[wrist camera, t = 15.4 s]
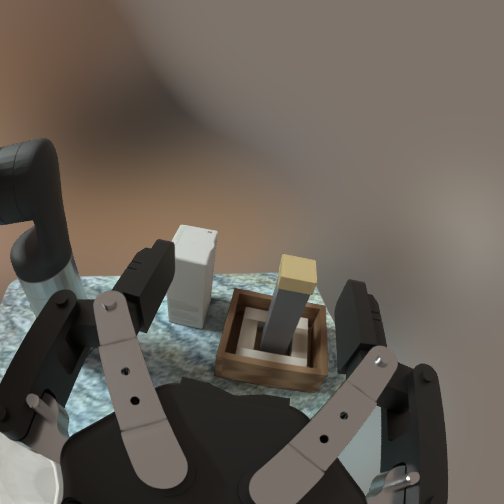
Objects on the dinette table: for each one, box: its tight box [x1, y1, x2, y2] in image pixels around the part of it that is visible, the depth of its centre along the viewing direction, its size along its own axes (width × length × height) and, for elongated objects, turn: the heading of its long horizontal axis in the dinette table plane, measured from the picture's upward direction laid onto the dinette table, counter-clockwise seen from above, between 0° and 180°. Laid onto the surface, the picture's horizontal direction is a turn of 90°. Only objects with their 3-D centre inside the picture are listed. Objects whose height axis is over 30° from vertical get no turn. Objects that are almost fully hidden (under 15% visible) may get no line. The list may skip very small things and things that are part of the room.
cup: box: [0, 432, 63, 504], centre depth 17 cm, size 12×12×11 cm
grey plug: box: [259, 254, 317, 355], centre depth 41 cm, size 4×4×18 cm
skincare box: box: [167, 225, 218, 329], centre depth 46 cm, size 8×7×16 cm
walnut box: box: [214, 288, 328, 393], centre depth 45 cm, size 16×14×6 cm
